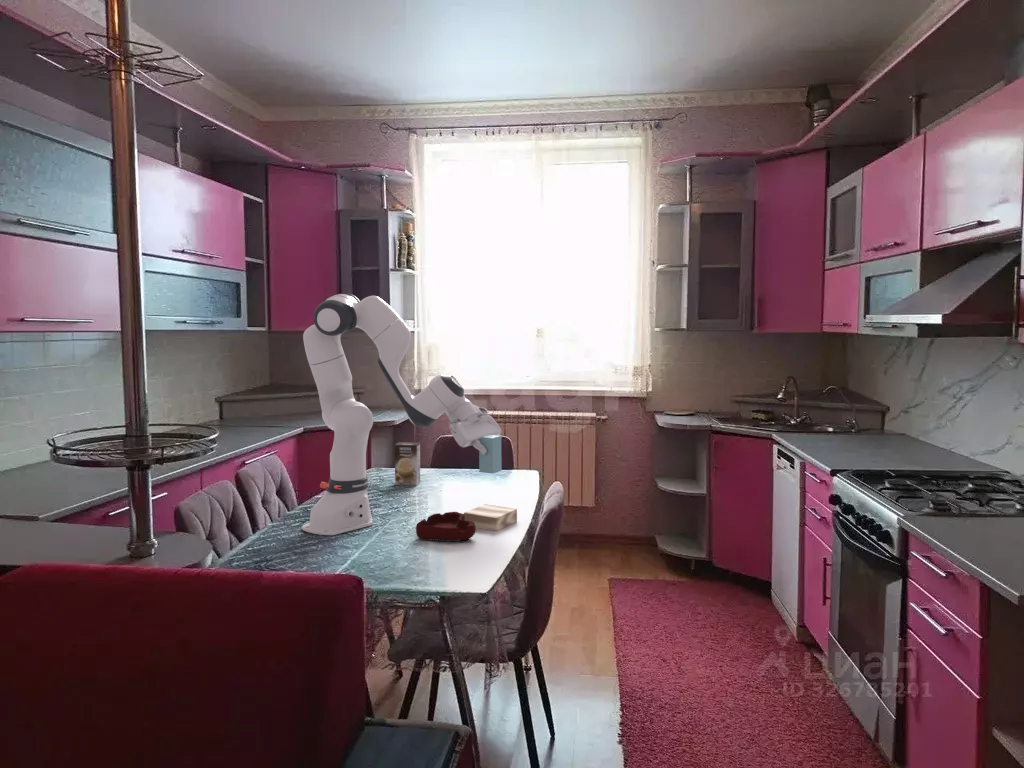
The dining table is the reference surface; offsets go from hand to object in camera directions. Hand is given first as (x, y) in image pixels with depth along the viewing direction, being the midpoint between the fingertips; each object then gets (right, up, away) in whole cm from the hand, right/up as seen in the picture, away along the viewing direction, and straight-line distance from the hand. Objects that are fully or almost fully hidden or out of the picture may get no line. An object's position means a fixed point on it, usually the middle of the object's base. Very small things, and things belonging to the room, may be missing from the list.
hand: (491, 451), depth 214 cm
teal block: (0, -6, +1) cm, 6 cm away
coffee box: (-35, -19, +57) cm, 69 cm away
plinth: (0, -23, +2) cm, 23 cm away
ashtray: (-14, -25, -11) cm, 30 cm away
